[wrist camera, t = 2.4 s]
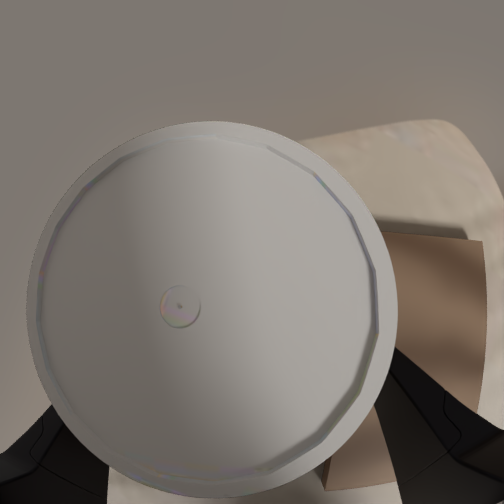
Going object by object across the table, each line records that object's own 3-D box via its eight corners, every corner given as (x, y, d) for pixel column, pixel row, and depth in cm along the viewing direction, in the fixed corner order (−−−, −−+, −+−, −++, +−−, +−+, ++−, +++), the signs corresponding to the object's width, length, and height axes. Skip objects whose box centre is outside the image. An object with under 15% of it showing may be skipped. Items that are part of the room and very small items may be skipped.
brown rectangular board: (455, 455, 14) (464, 461, 13) (321, 481, 15) (324, 491, 14) (471, 246, 18) (482, 241, 17) (341, 235, 19) (347, 228, 18)
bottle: (175, 318, 19) (-20, 289, 4) (248, 245, 19) (203, 57, 5) (249, 393, 17) (196, 562, 3) (324, 317, 18) (489, 290, 3)
